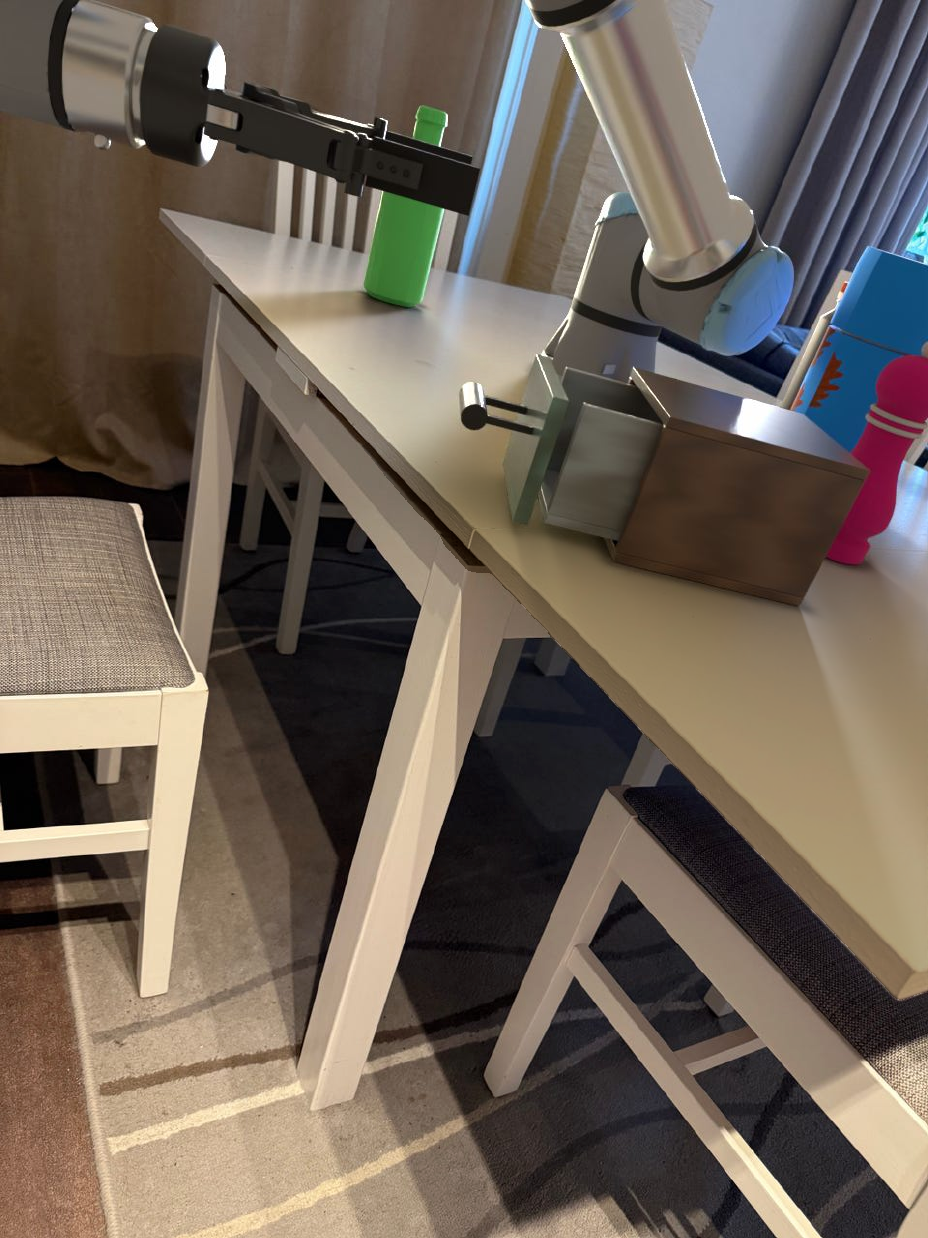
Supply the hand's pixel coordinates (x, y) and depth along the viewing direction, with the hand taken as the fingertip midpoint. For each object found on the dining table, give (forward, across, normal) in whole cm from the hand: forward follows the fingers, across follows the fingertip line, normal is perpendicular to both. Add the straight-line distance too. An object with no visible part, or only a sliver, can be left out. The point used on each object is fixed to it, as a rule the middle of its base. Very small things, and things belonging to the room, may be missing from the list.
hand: (471, 183), depth 61 cm
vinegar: (+57, -57, -22) cm, 84 cm away
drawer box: (+25, 0, -22) cm, 33 cm away
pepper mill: (+41, -8, -22) cm, 48 cm away
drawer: (+13, 0, -21) cm, 25 cm away
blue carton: (+46, -25, -22) cm, 57 cm away
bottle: (-4, -69, -22) cm, 73 cm away
